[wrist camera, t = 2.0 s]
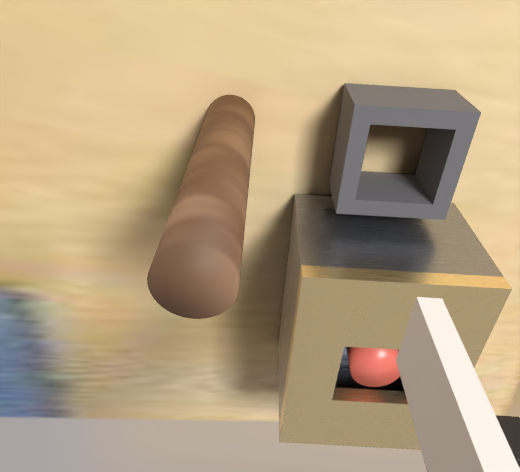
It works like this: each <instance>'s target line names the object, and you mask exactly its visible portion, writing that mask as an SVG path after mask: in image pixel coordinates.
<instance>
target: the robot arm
mask: <svg viewBox="0 0 520 472" xmlns="http://www.w3.org/2000/svg"><path fill="white" fill-rule="evenodd" d="M396 362H397V366H398V369H399V373H400V377H401V380H402V384H403V387H404V391H405V395H406V398H407V402H408V405H409V409H410V412H411V416H412V420H413V423H414V427H415V430H416V434H417V438H418V441H419V445H420V448H421V451H422V455H423V459H424V463H425V466H426V470H427V472H520V418H519V417H511V416H496V415H495V413H494V411H493V409H492V407H491V404H490V402H489V400H488V398H487V396H486V394H485V391H484V389H483V387H482V385H481V383H480V380H479V378H478V376H477V374H476V372H475V369H474V367H473V365H472V363H471V361H470V358H469V356H468V354H467V352H466V350H465V347H464V345H463V343H462V341H461V339H460V336H459V334H458V332H457V330H456V328H455V325H454V323H453V321H452V319H451V317H450V314H449V312H448V310H447V308H446V306H445V303H444V301H443V299H440V298H425V297H416V300H415V303H414V306H413V309H412V312H411V315H410V318H409V322H408V325H407V328H406V331H405V334H404V337H403V340H402V343H401V346H400V349H399V352H398V355H397V358H396Z"/></svg>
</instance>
